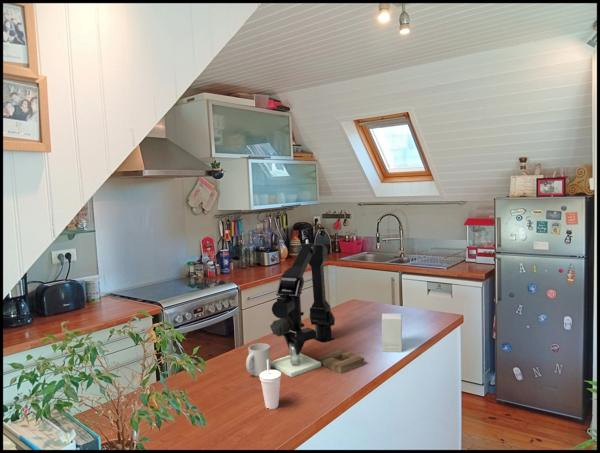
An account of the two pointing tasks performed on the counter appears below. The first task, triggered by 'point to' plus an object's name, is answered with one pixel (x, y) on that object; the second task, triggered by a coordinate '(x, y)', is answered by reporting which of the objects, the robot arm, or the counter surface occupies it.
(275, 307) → the robot arm
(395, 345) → the supplement box
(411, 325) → the counter surface
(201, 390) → the counter surface
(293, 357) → the pin
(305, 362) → the tray
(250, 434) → the counter surface
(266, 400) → the smoothie
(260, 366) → the cup
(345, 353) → the socket
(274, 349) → the counter surface
